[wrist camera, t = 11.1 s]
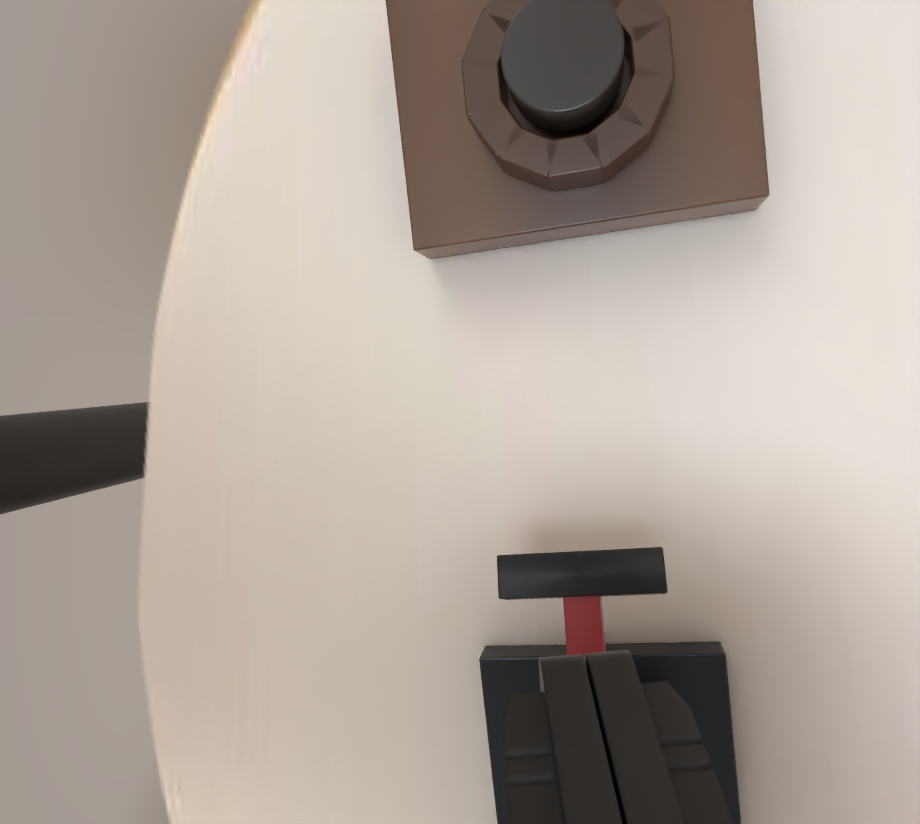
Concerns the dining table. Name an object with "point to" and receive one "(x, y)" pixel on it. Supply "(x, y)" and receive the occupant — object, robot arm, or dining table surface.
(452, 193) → the button block
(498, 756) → the pivot stand
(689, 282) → the dining table surface
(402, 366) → the dining table surface
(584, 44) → the desk button
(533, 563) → the lever handle
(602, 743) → the robot arm
